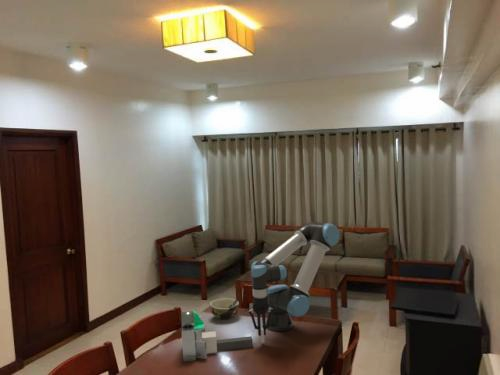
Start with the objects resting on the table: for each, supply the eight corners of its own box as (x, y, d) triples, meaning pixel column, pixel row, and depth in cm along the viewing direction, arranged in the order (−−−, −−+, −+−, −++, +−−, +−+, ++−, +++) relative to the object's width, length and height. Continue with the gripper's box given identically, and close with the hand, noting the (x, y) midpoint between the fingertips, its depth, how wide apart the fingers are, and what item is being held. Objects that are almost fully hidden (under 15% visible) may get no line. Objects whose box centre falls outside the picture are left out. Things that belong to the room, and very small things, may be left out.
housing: (205, 342, 221) (203, 304, 219) (207, 359, 202) (204, 317, 201) (184, 345, 219) (181, 306, 218) (183, 361, 200) (180, 319, 199)
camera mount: (182, 334, 233) (181, 316, 233) (183, 329, 241) (182, 311, 240) (204, 332, 235) (203, 314, 234) (204, 327, 242) (203, 309, 242)
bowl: (207, 323, 248) (206, 307, 248) (214, 312, 266) (213, 297, 265) (236, 323, 245) (235, 307, 245) (242, 312, 263) (241, 297, 262)
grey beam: (251, 342, 218) (250, 327, 217) (253, 348, 211) (252, 332, 210) (196, 348, 214) (195, 333, 214) (196, 354, 207) (195, 338, 207)
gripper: (271, 292, 218) (273, 337, 219) (246, 295, 216) (248, 340, 218) (274, 297, 211) (276, 343, 212) (248, 299, 209) (250, 346, 210)
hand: (262, 341), depth 215 cm, fingers closed
